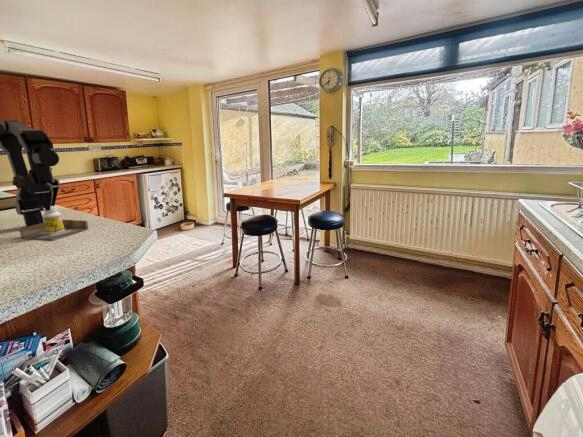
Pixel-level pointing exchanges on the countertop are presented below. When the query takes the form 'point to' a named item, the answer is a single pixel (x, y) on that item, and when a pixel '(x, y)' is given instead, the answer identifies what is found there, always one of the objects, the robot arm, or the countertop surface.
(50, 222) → the supplement bottle
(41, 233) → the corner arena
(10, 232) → the countertop surface
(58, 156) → the robot arm
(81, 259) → the countertop surface
